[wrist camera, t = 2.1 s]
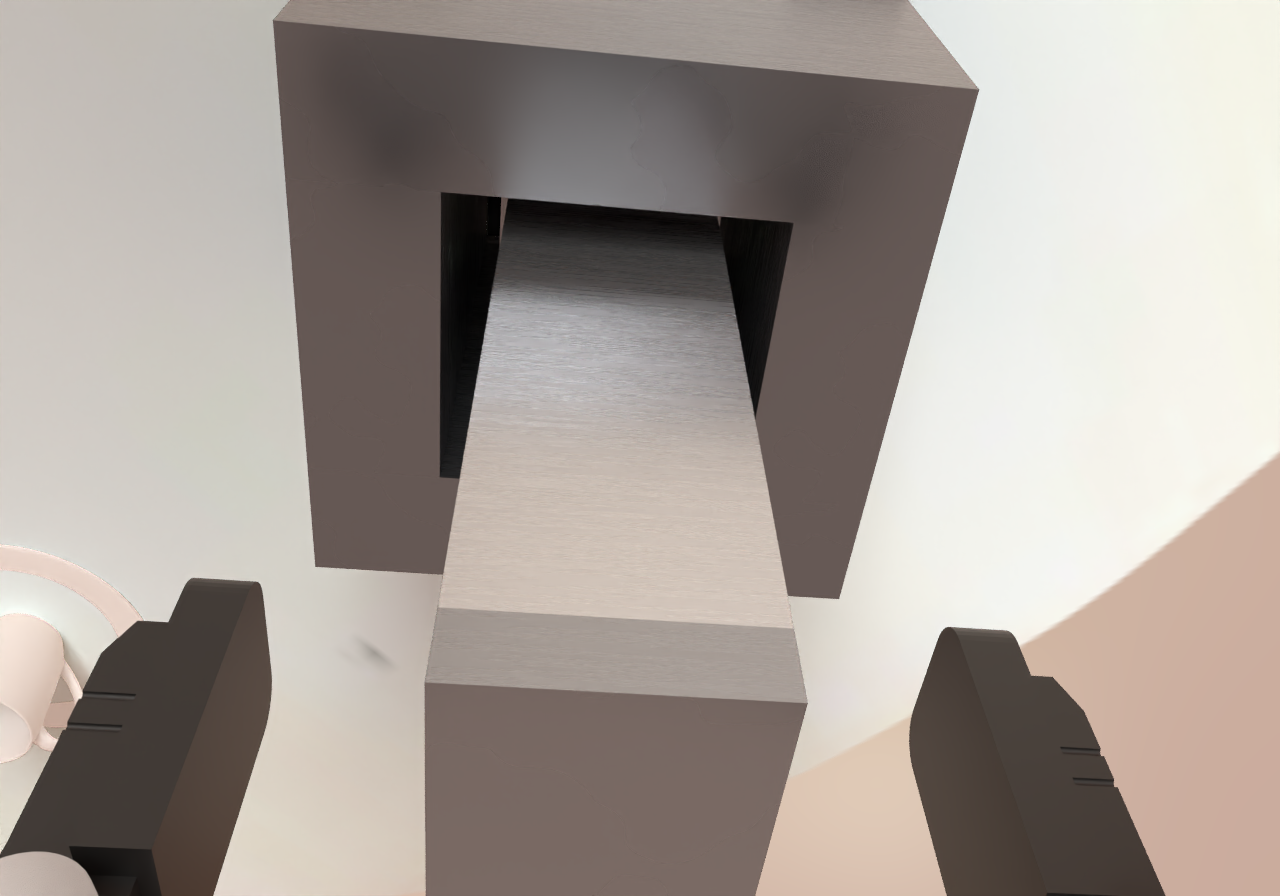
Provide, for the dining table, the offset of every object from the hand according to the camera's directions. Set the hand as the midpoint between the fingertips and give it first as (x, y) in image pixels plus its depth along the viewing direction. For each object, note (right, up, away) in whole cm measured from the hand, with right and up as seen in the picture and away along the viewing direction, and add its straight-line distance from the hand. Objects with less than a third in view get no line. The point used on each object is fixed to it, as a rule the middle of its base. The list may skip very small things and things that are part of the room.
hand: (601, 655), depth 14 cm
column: (0, +10, +14) cm, 17 cm away
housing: (0, +10, +14) cm, 17 cm away
